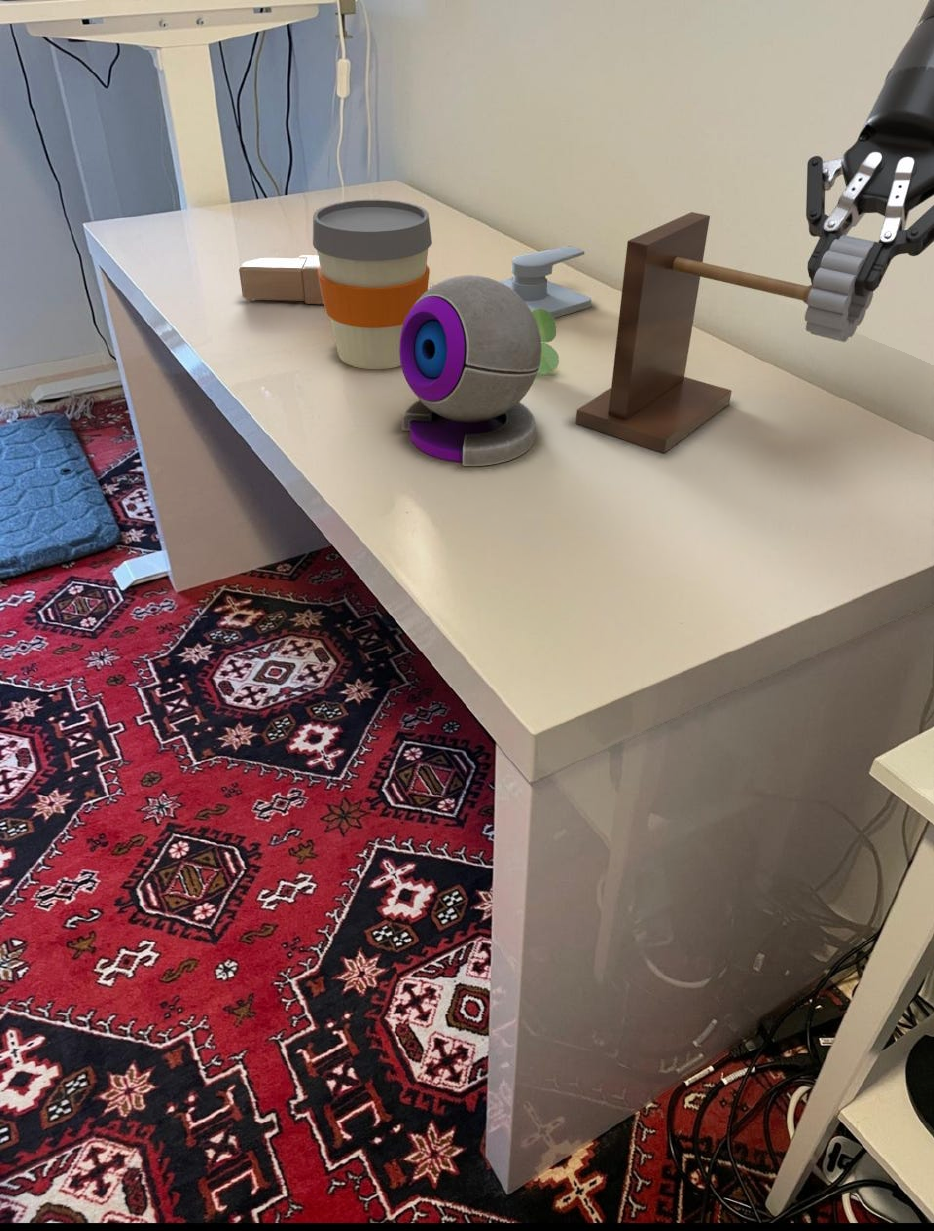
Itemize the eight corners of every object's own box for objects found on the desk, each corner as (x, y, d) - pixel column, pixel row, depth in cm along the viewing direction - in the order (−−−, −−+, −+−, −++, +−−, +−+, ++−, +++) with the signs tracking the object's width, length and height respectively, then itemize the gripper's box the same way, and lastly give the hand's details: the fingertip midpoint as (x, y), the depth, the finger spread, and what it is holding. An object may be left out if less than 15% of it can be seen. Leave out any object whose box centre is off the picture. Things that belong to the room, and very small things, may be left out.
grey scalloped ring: (865, 325, 83) (891, 233, 79) (831, 353, 78) (856, 256, 74) (832, 317, 85) (855, 225, 80) (796, 344, 80) (819, 248, 75)
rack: (575, 423, 95) (591, 236, 84) (644, 378, 104) (668, 204, 93) (751, 483, 86) (795, 282, 75) (810, 428, 95) (858, 241, 84)
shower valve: (613, 258, 119) (523, 282, 111) (608, 302, 122) (521, 328, 115) (545, 234, 127) (457, 256, 119) (542, 276, 130) (457, 299, 122)
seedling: (531, 399, 110) (527, 392, 104) (488, 346, 111) (481, 335, 104) (580, 358, 109) (579, 348, 103) (536, 304, 109) (532, 290, 103)
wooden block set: (382, 262, 116) (236, 258, 117) (384, 307, 120) (242, 304, 120) (396, 221, 130) (264, 218, 130) (397, 263, 133) (269, 260, 134)
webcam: (377, 428, 93) (370, 274, 84) (476, 393, 100) (479, 247, 91) (462, 480, 86) (464, 316, 76) (563, 439, 92) (576, 283, 83)
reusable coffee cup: (451, 343, 111) (451, 207, 102) (400, 384, 102) (396, 239, 93) (357, 325, 115) (349, 193, 106) (300, 363, 106) (286, 222, 97)
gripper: (1018, 139, 77) (924, 329, 77) (848, 116, 84) (762, 291, 84) (1026, 73, 71) (924, 281, 71) (841, 54, 78) (748, 243, 78)
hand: (836, 285), depth 77 cm, fingers closed on grey scalloped ring, 3 cm apart
